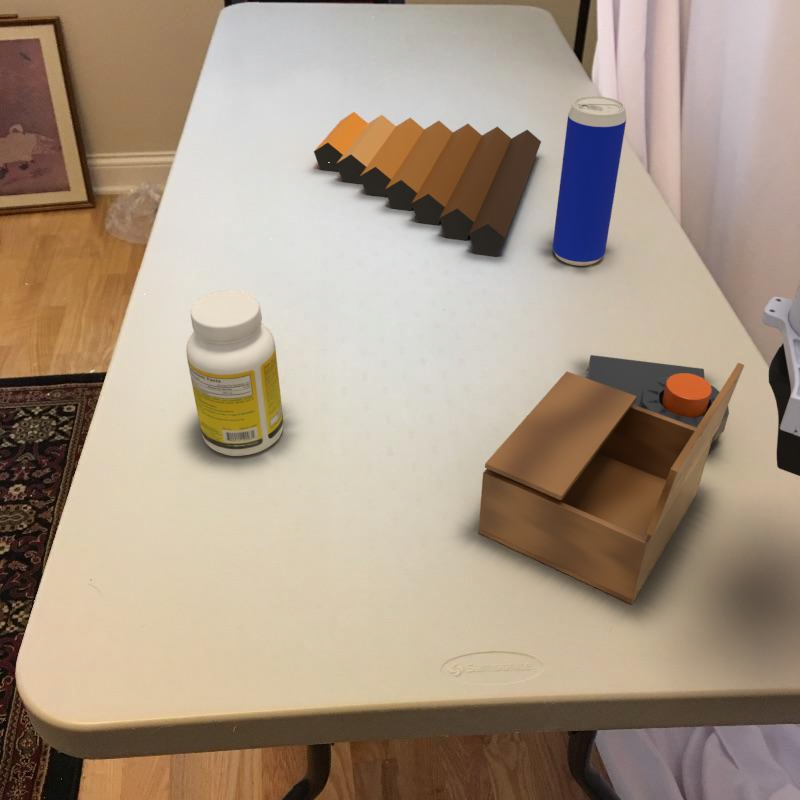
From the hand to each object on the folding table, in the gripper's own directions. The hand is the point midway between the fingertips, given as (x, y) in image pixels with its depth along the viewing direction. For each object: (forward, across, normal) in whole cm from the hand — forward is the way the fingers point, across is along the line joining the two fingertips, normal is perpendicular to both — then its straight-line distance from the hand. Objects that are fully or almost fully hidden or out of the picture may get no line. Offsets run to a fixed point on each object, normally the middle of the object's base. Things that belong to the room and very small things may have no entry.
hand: (798, 467), depth 50 cm
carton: (+10, -1, -11) cm, 15 cm away
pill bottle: (+11, +6, -37) cm, 39 cm away
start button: (+8, -12, -9) cm, 17 cm away
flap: (+2, -1, -6) cm, 6 cm away
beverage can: (+11, -33, -27) cm, 44 cm away
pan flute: (+11, -37, -49) cm, 62 cm away
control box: (+10, -14, -12) cm, 21 cm away
